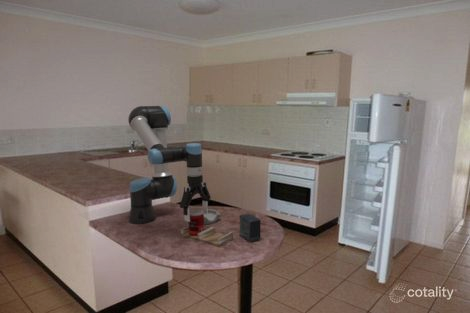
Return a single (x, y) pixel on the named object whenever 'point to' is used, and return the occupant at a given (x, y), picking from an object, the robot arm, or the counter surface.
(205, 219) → the dish
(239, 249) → the counter surface
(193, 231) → the canned food
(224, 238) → the notched rail
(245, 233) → the small box
